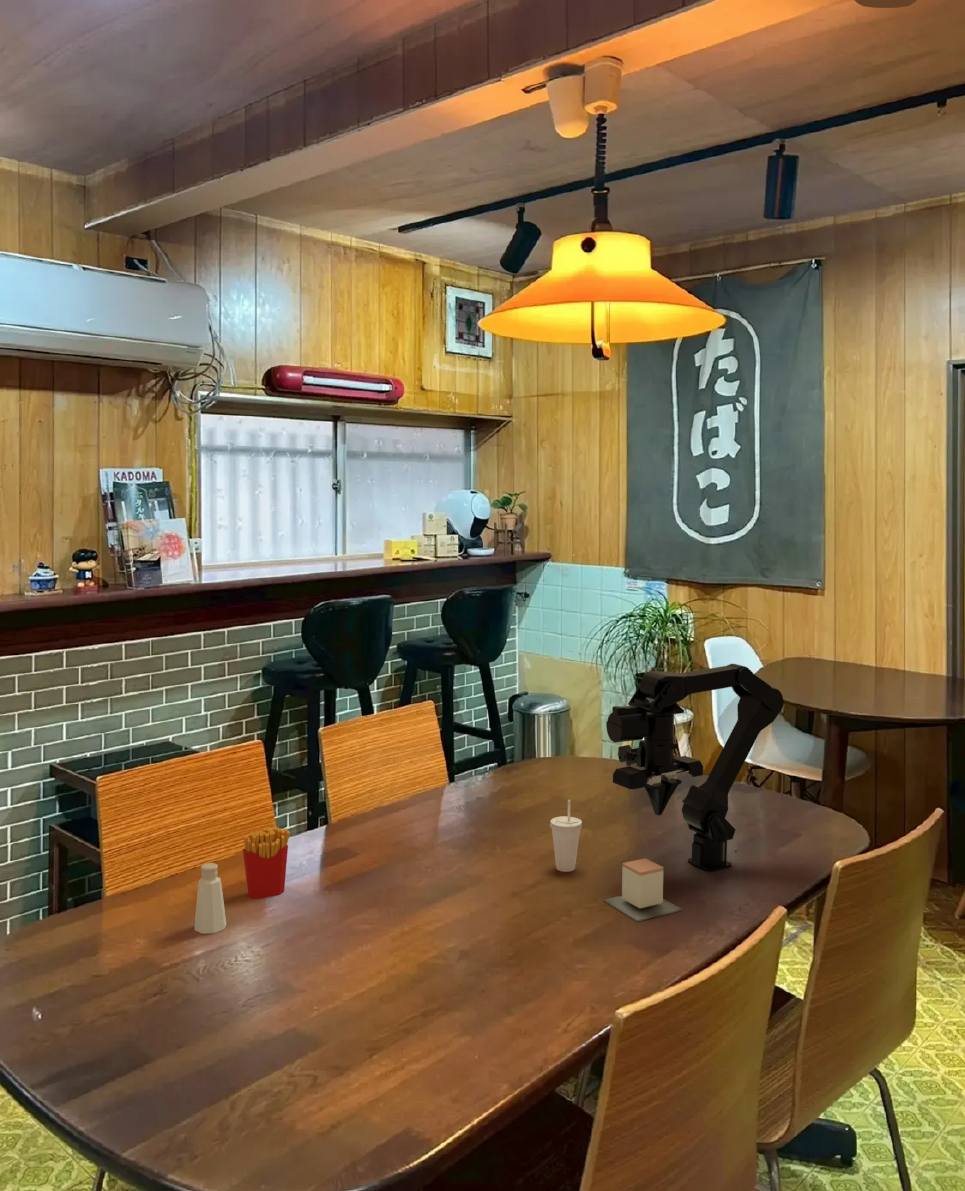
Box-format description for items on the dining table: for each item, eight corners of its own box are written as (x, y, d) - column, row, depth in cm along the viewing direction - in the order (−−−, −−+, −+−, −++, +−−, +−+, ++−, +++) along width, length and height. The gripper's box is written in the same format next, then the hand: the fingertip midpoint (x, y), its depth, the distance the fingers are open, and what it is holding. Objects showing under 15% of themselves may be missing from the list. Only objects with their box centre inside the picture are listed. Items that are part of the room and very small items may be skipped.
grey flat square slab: (646, 891, 186) (647, 855, 186) (681, 910, 178) (682, 872, 177) (603, 901, 181) (604, 864, 181) (637, 921, 173) (638, 882, 172)
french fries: (247, 900, 181) (246, 837, 180) (242, 893, 184) (240, 830, 183) (292, 892, 185) (291, 830, 184) (286, 885, 188) (285, 823, 187)
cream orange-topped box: (644, 892, 183) (645, 858, 182) (662, 902, 178) (663, 867, 178) (621, 898, 180) (622, 863, 180) (639, 908, 176) (640, 872, 175)
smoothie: (579, 875, 194) (580, 805, 193) (547, 872, 195) (548, 803, 194) (583, 863, 200) (584, 796, 199) (551, 861, 201) (552, 794, 200)
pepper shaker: (197, 936, 166) (196, 873, 165) (191, 924, 171) (189, 862, 170) (230, 930, 168) (228, 867, 167) (222, 918, 173) (221, 857, 172)
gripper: (667, 722, 204) (666, 796, 206) (595, 734, 195) (595, 811, 196) (705, 733, 195) (704, 810, 196) (631, 746, 185) (631, 827, 187)
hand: (658, 814), depth 194 cm, fingers closed
